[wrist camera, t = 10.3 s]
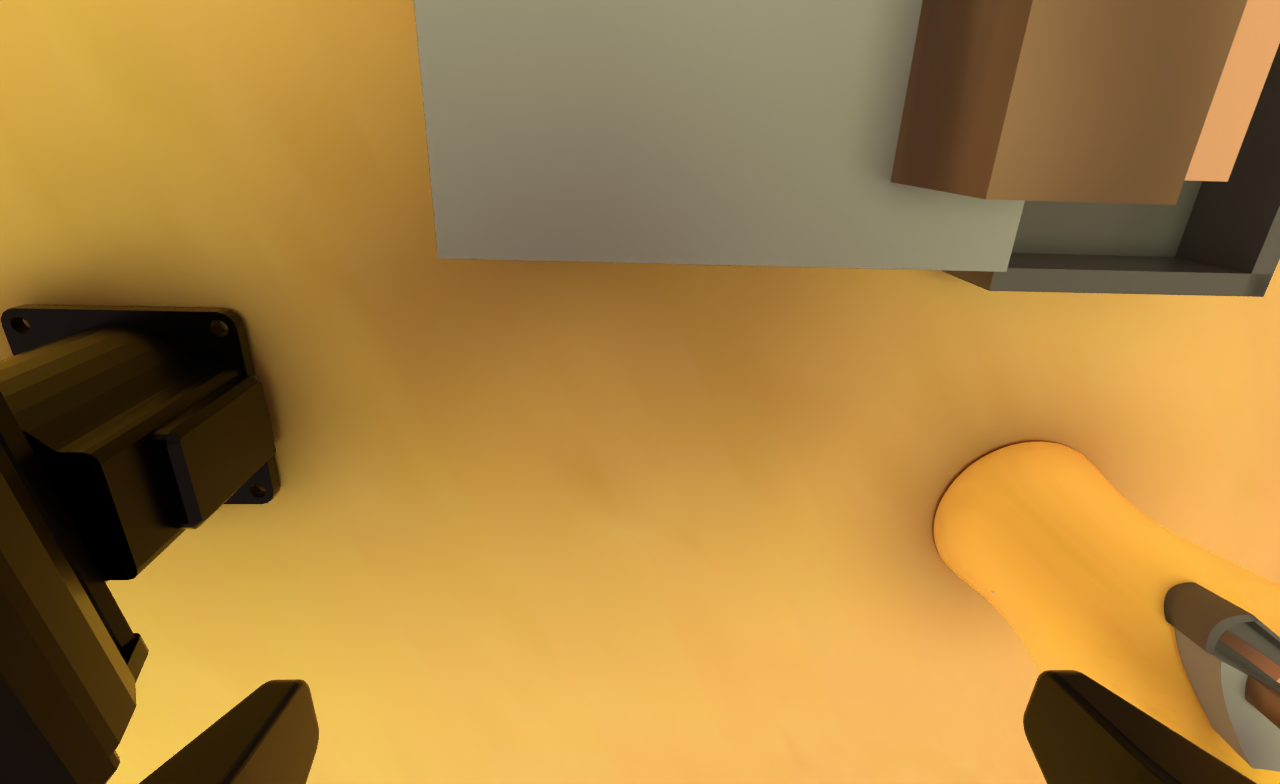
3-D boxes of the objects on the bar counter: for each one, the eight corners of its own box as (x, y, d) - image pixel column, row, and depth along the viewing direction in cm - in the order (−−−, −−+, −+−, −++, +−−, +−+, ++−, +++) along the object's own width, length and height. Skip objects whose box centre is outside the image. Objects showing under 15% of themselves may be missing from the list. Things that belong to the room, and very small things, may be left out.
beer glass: (1008, 395, 21) (1795, 915, 7) (1150, 478, 22) (2022, 1037, 9) (881, 547, 23) (1290, 1172, 9) (1019, 613, 25) (1545, 1231, 11)
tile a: (1141, 179, 14) (1227, 182, 14) (1212, -36, 12) (1307, -31, 12) (1029, 168, 17) (1097, 170, 18) (1071, 3, 16) (1146, 6, 16)
